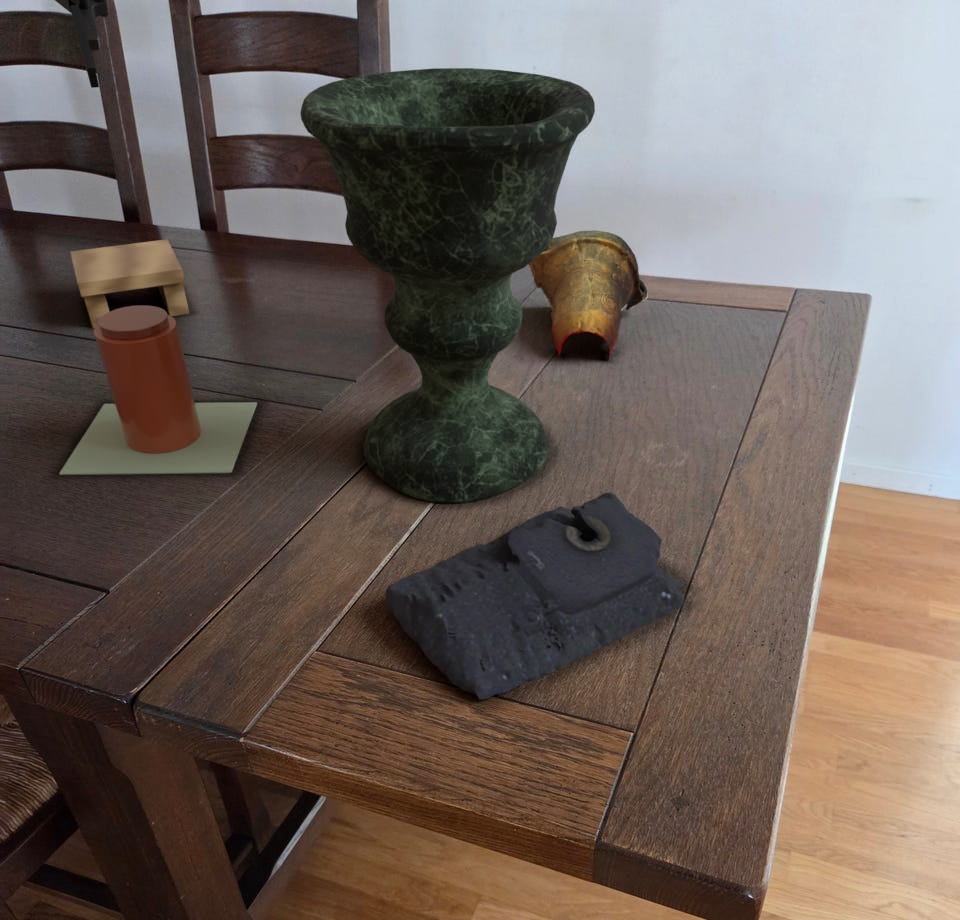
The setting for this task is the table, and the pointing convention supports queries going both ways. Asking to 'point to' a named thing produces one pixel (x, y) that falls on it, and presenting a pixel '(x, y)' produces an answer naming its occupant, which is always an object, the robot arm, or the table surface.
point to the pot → (588, 284)
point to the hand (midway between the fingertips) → (19, 83)
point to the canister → (148, 378)
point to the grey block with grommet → (537, 596)
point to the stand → (129, 275)
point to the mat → (207, 454)
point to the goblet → (451, 253)
